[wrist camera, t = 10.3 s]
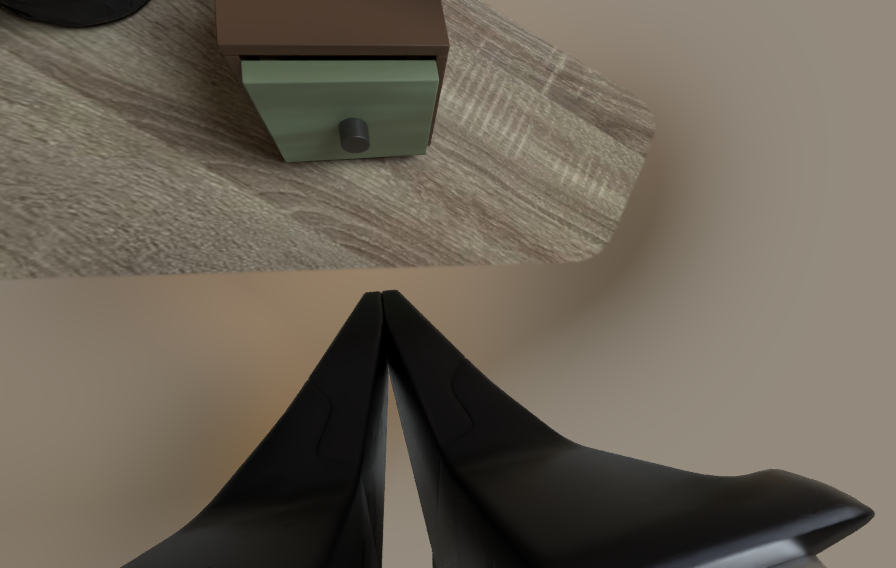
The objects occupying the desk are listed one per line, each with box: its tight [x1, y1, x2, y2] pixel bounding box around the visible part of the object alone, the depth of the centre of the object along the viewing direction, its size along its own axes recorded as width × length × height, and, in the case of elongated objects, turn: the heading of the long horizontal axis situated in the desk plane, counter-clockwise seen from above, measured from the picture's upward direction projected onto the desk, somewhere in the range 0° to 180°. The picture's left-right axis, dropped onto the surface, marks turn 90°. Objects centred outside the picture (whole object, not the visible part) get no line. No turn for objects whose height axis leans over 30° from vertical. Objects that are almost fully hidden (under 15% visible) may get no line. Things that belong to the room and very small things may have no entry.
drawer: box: [241, 55, 439, 162], centre depth 20 cm, size 10×9×7 cm
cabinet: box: [215, 0, 450, 153], centre depth 20 cm, size 10×10×8 cm
